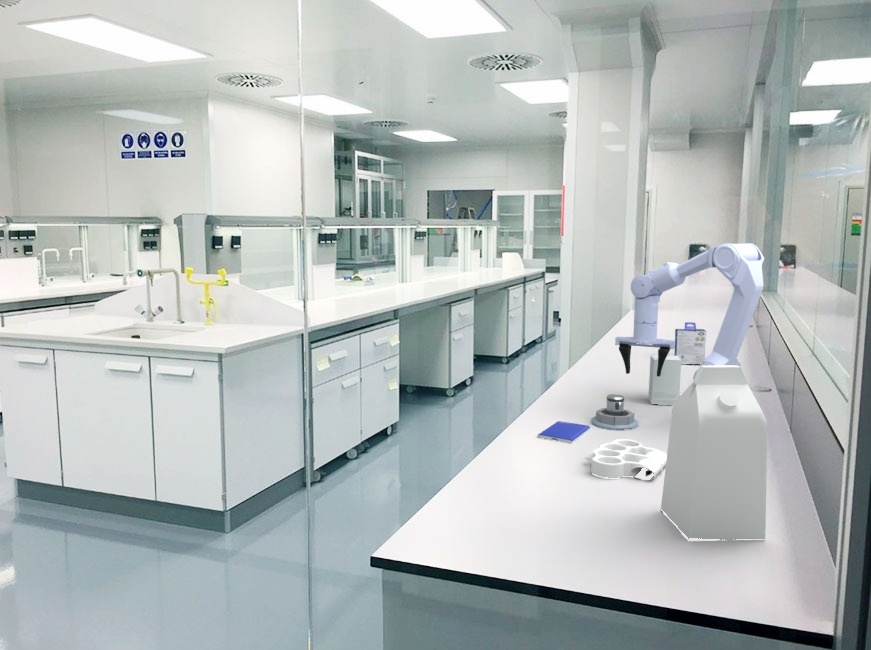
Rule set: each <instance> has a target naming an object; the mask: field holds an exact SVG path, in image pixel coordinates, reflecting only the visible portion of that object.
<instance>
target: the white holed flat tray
mask: <svg viewBox="0 0 871 650" xmlns="http://www.w3.org/2000/svg"><path fill="white" fill-rule="evenodd" d="M584 459H586V460H587V461H589V462H590V463H591V465H590V473H591V472H592V473H593V474H596V475H598V476H602V477H608V478H618V477H622V476H633V477H635V476H636V475H637V474H638V473H639V472H640V471H641V469H642V468H646V469H648V470H649V471H650V472H651V471H652V472H653V474H654V476H653V477H652V478H651V479H650V480H649V481H651V480H654V479H656V477H657V475H658V474H659V473H660V472H661V471H663V470H664V469H663V468H664V467H666V460H667V452H664V451H663V450H660V449H657V448H653V447H647V446H644V445H643V444H642V443H641V442H639V441H636V440H635V439H628V438H627V439H626V438H616V439H614V440H613V441H611V442H604V443H602V444H599V445H598V447H597V448H594V449H593V451H592V455H589V456H586V457H584Z"/></svg>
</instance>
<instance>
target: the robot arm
mask: <svg viewBox="0 0 871 650" xmlns="http://www.w3.org/2000/svg"><path fill="white" fill-rule="evenodd" d="M764 261H765V256H764V255H763V254H762V252H761V250H760V248H759V247H758V246H757V245H755V244H754V243H752V242H751V243H750V242H743V243H728V242H727V243H726V242H725V243H724V242H723V243H721V244H719V245H718V246H713V247H710V248H708V249H707V250H706V251H703V252H701V253H700V254H697V255H695V256H693V257H692V258H689V259H688V260H686V261H684V262H682V263H680V264H679V263H677V262H672V261H669V262H668V261H666V262H664V263H663V266H662V267H660V268H657V269H651V270H649V271H648V273H647V274H637V275H636V276H635V277H633V278H632V280H631V282H630V283H631V284H630V291H631V293H632V295H633V297H634V315H633V316H634V317H633V319H634V320H633V336H616V337H615V338H614V339H615V340H614V345H615V346H619V347H618V350H619V353H620V355H621V358H622V360H623V363H624V367H625V374H627V375H629V374H630V373H631V355H632V354H631V352H632V346H633V347H644V348H645V347H646V348H657V349H658V350H657V355H658V368H657V376H659V377H660V375H661V370H662V367H663V364H664V361H665V359H666V357H667V355H669V352H670V351H671V350H675V339H674V340H671V339H665V338H664V339H663V338H657V337H658V317H659V303H661V301H660V300H661V296H662V294H663V293H665V292H667V291H669V290H672V289H674V288H676V287H678V286H680V285H683V284H684V283H685V280H686V277H688V276H691V275H695V274H697V273H699V272H702V271H705V270H707V269H709V268H715V269H717V270H718V271H719V272H720V273H721V274H722V275H723V276H724V277H725V278H726V279H727V280H728V281H729V282H730V283H731V286H732V287H733V289H734V290H733V293H732V295H731V298H730V302H729V304H728V307H727V309H726V312H725V315H724V318H723V321H722V323H721V326H720V329H719V331H718V335H717V338H716V340H715V342H714V345H713V349H712V351H711V352H710V354H708V356H706V357H705V359H704V361H703V363H702V365H700V366H717V365H737V366H739V367H741V362H740V361H739V360H738V356H739V354H740V351H741V348H742V345H743V342H744V340H745V338H746V335H747V332H748V330H749V326H750V324H751V322H752V318H753V316H754V313H755V311H756V308H757V305H758V303H759V300H760V297H761V295H762V293H763V290H764V276H763V267H762V266H763V264H764ZM697 371H698V369H697V370H696V371H694V374H693V377H692V381H693V380H694V378H695V376H696V374H697Z"/></svg>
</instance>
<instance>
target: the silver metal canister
mask: <svg viewBox="0 0 871 650" xmlns="http://www.w3.org/2000/svg"><path fill="white" fill-rule="evenodd" d="M624 405H625V396H624V395H622V394H617V393H615V394H607V396H606V408H607V410H606V415H611V416H623V410H624Z"/></svg>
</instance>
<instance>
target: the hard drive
mask: <svg viewBox="0 0 871 650" xmlns="http://www.w3.org/2000/svg"><path fill="white" fill-rule="evenodd" d="M590 430H591V426H590V425H587V424H580V423H576V422H575V423H574V422H568V421H562V420H561V421H560V420H559V421H555V422H554V423H553V424H552V425H550V426H549V427H547V428H546V429H544V430H542V431H541V432H539V433H538V434H537V439H541V438H544V439H543V440H547V439H549V441H553V440H555V441H554V442H559V441H560V442H561V443H565V442H567V443H566V444H571V443H572V444H574V443H576V442H577V441H578V440H579V439H580V438H582V437H583V436H584V435H586V434H587V433H588V432H589V431H590ZM586 432H587V433H586ZM581 436H582V437H581ZM577 439H578V440H577ZM573 442H574V443H573Z"/></svg>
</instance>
